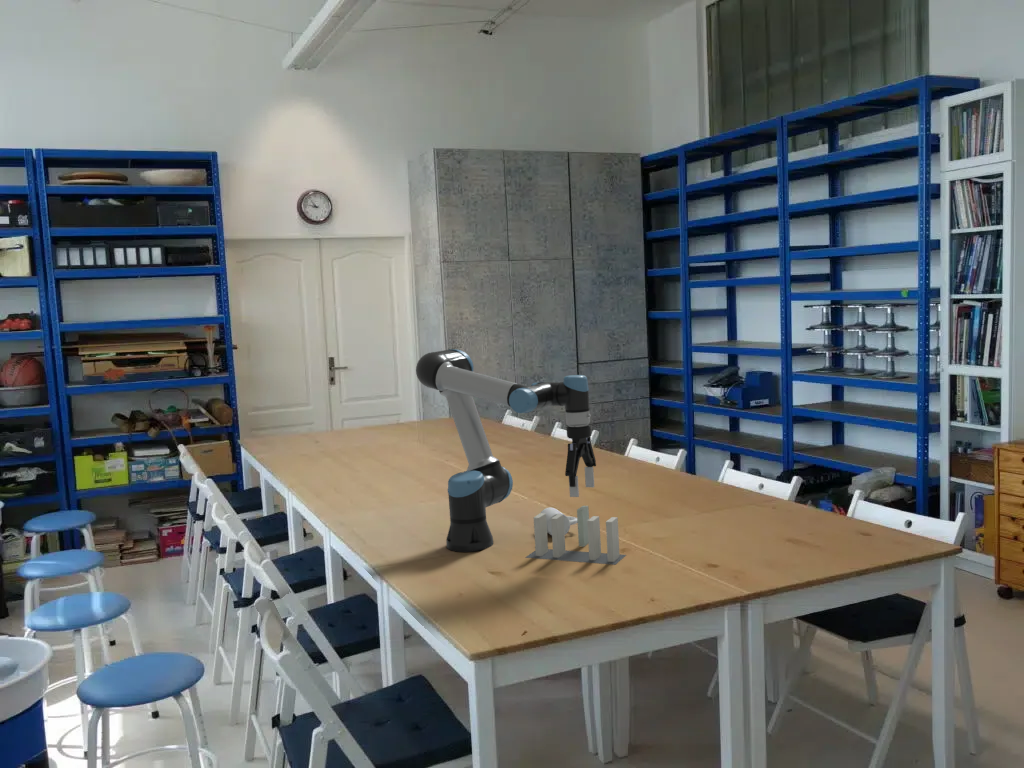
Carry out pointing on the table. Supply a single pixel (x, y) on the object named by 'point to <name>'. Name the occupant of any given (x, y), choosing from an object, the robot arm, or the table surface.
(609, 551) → the tile
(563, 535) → the tile
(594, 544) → the tile
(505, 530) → the table surface
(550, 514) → the mug
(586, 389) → the robot arm
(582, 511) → the tile
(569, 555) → the strip
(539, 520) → the tile
